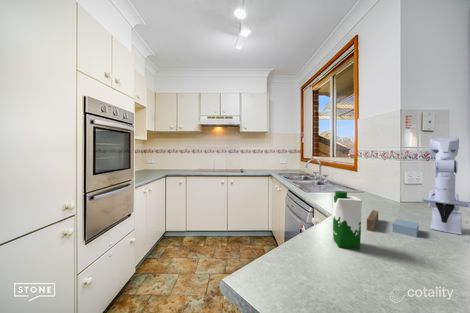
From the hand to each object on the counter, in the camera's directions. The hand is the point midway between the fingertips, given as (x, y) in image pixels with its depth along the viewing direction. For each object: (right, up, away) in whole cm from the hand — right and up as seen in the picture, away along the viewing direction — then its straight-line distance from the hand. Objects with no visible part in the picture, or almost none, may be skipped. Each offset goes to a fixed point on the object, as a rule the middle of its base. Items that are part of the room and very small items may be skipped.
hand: (444, 222), depth 83 cm
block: (-9, -7, +8) cm, 14 cm away
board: (-18, -7, +16) cm, 25 cm away
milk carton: (-44, -7, -6) cm, 44 cm away
